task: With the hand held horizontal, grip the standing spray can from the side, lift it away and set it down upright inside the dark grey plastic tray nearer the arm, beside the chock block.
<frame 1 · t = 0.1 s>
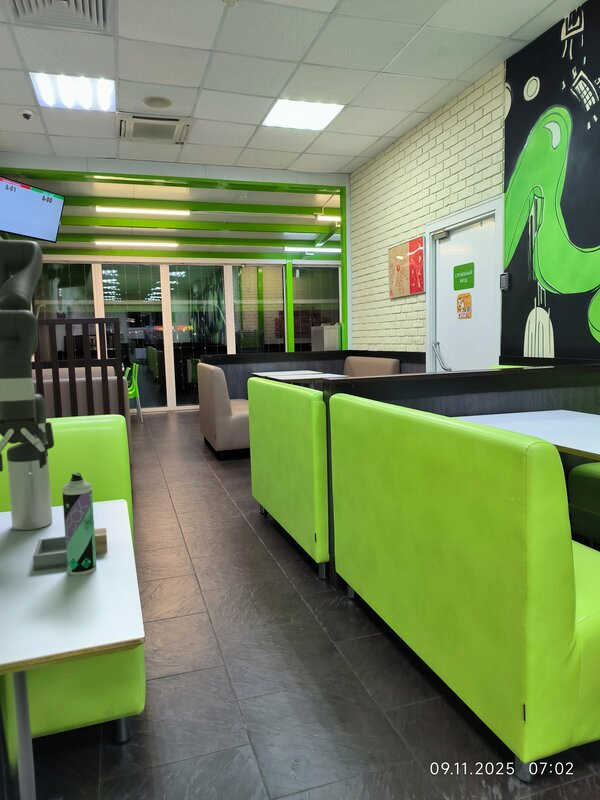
hand: (21, 469, 127), 17 cm above the table, tool pointing down, fingers open, 8 cm apart
tray: (63, 557, 119), on the table
chock block: (99, 549, 124), on the table
spray can: (82, 571, 112), on the table
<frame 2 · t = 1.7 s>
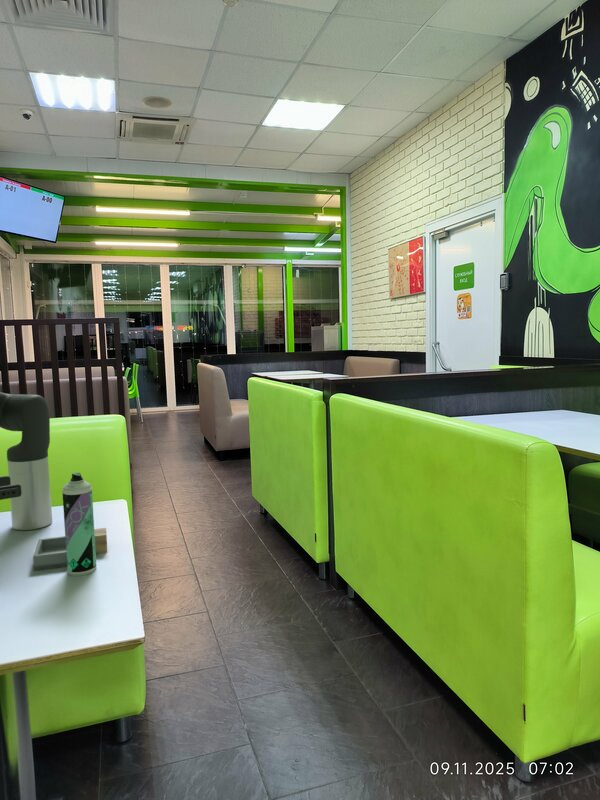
hand: (15, 485, 103), 20 cm above the table, tool horizontal, fingers open, 8 cm apart
nothing on the table moved.
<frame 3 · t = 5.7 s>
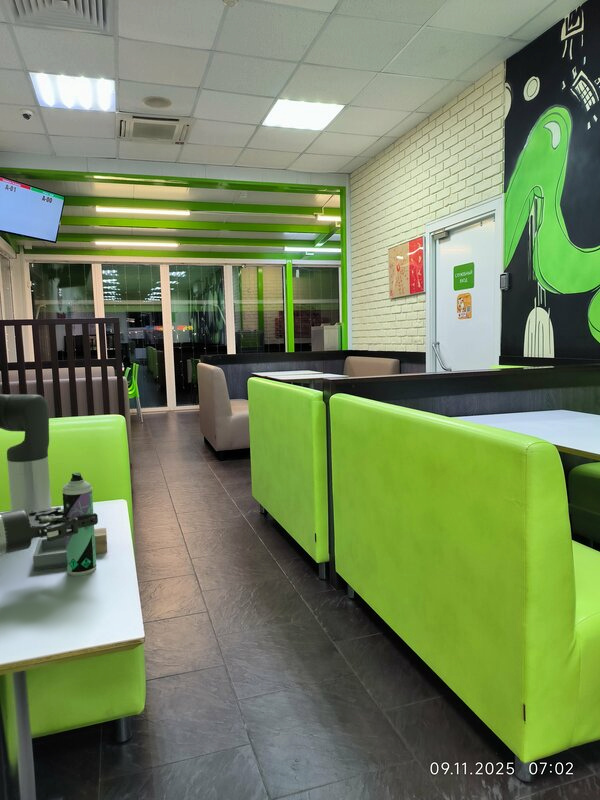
hand: (91, 514, 113), 11 cm above the table, tool horizontal, fingers closed on spray can, 5 cm apart
spray can: (82, 571, 112), on the table, touching gripper
everything else where it was.
when the fingers open (13 cm above the table, at t = 9.9 s): spray can drops 1 cm, resting on tray.
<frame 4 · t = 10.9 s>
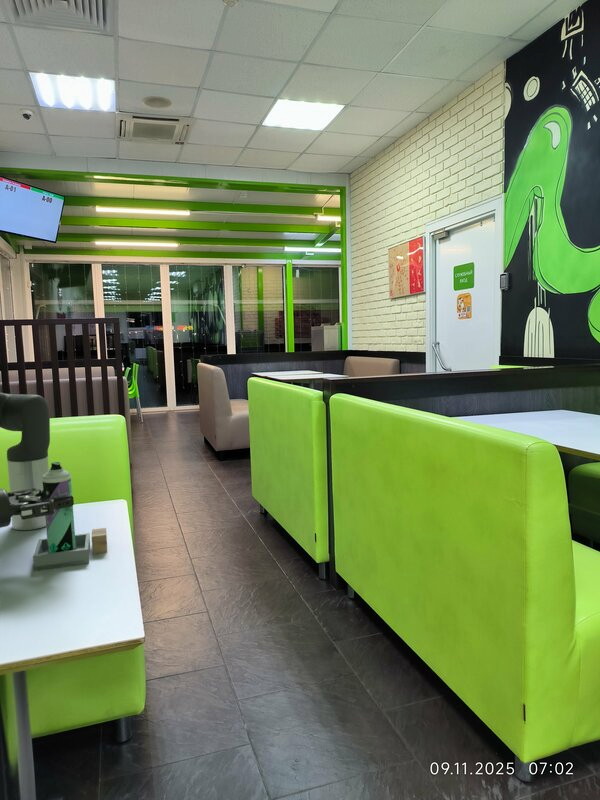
hand: (66, 496, 118), 13 cm above the table, tool horizontal, fingers open, 8 cm apart
spray can: (62, 555, 119), point 1 cm above the table, touching tray
everything else where it was.
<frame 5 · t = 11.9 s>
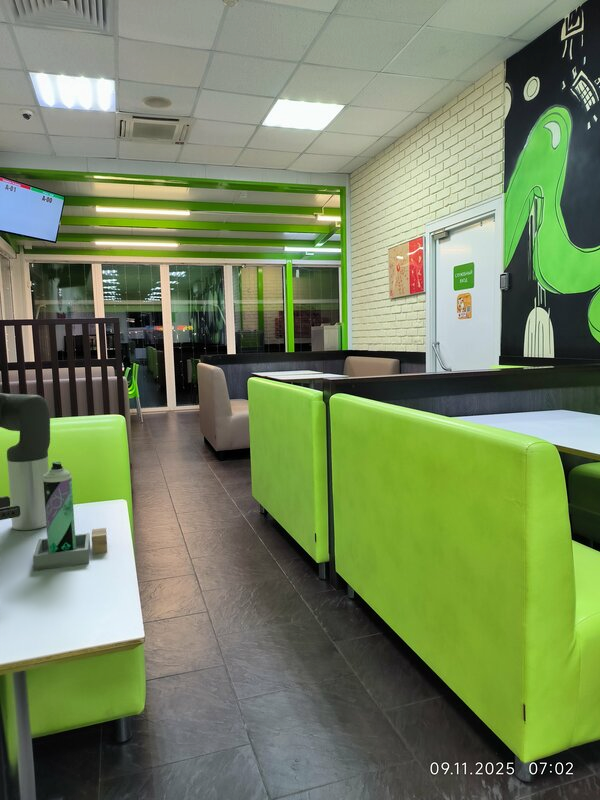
hand: (14, 505, 112), 13 cm above the table, tool horizontal, fingers open, 8 cm apart
nothing on the table moved.
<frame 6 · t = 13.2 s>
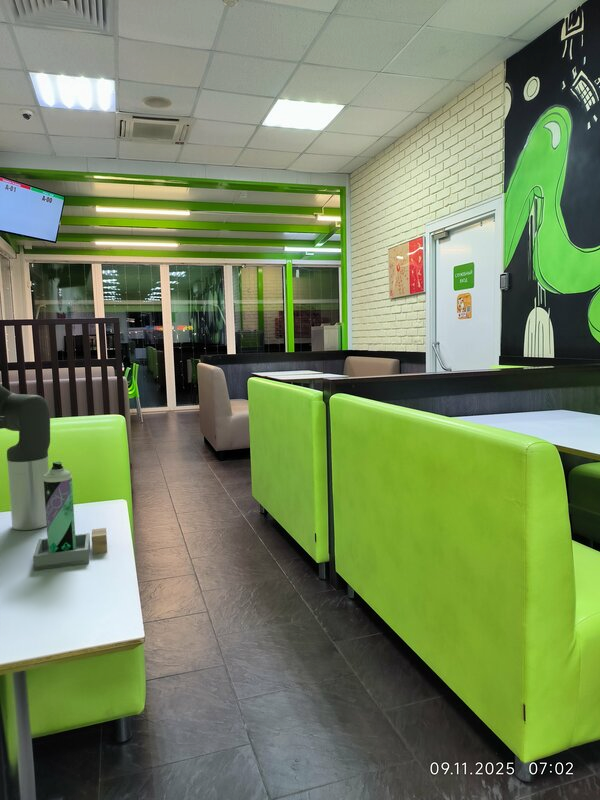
hand: (1, 419, 108), 31 cm above the table, tool horizontal, fingers open, 8 cm apart
nothing on the table moved.
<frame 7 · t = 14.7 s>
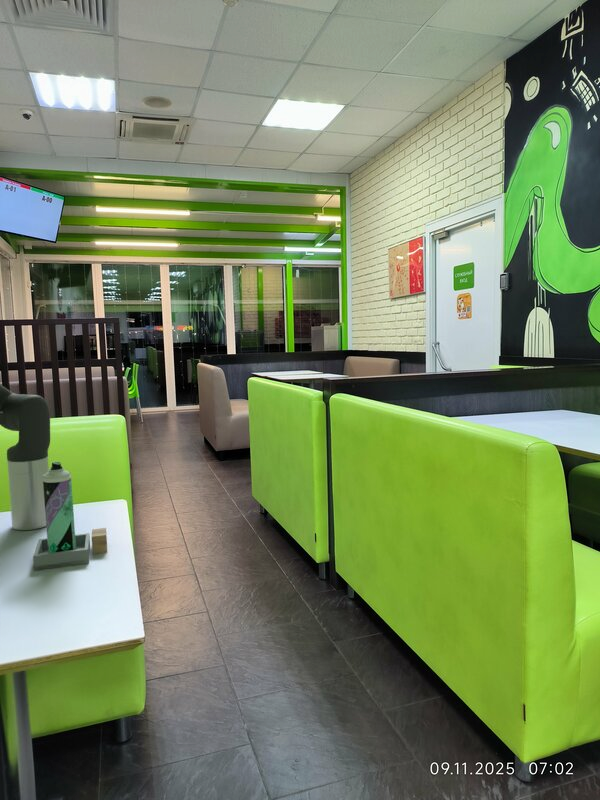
hand: (0, 415, 108), 32 cm above the table, tool horizontal, fingers open, 8 cm apart
nothing on the table moved.
at the end: spray can inside the target area on the tray (0.2 cm from its centre), point 0.6 cm above the tray's base; spray can tilted 0°; the gripper is holding nothing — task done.
